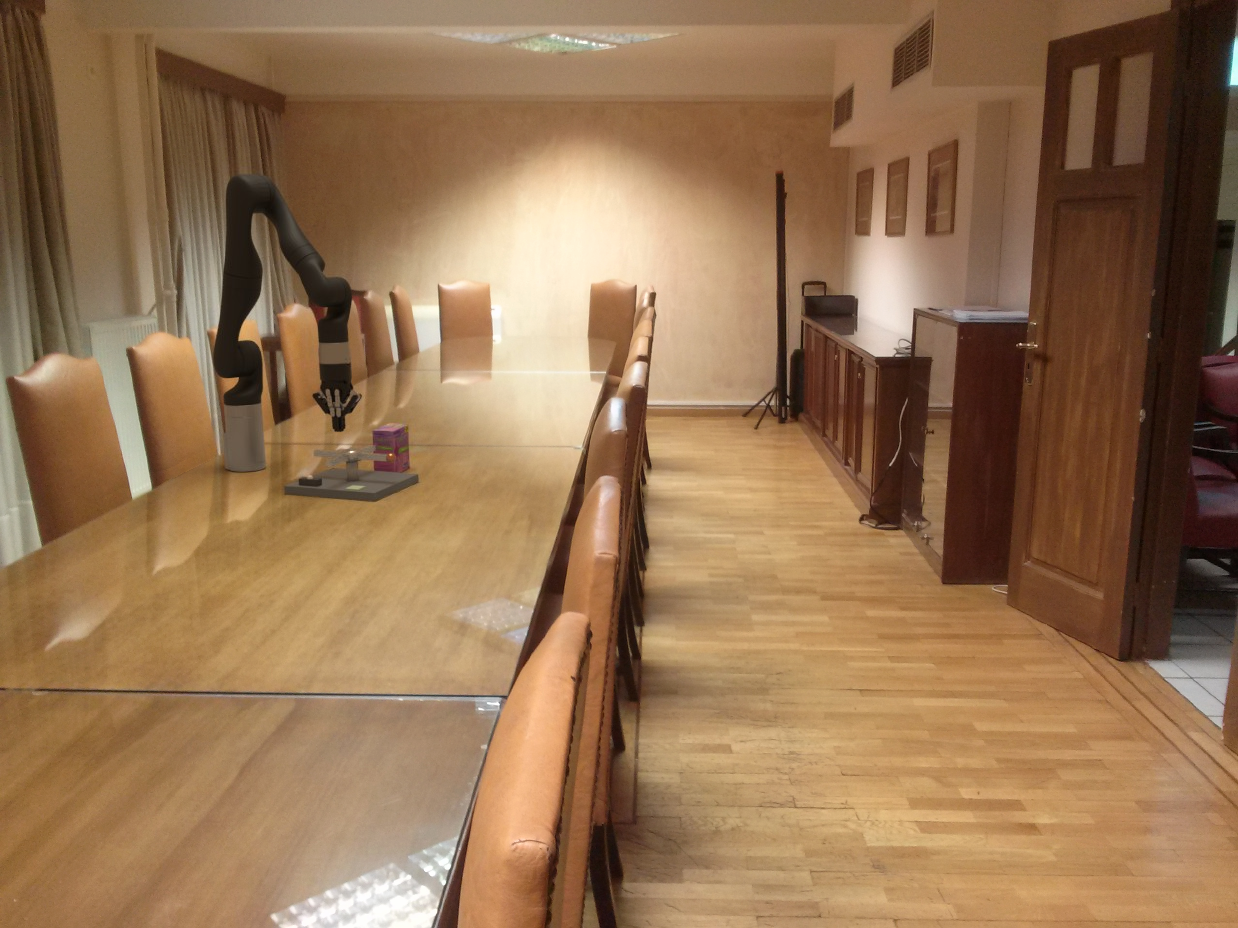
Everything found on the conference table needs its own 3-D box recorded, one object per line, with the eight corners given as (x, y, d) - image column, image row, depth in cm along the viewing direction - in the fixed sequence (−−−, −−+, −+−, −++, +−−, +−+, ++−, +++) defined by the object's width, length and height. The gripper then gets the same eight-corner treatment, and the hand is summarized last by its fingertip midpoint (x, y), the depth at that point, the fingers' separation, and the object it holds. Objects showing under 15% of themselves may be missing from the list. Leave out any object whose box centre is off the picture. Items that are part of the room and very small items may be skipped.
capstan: (291, 465, 253) (290, 455, 252) (338, 450, 271) (337, 440, 271) (374, 472, 246) (373, 461, 246) (415, 455, 265) (415, 445, 265)
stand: (284, 494, 254) (282, 467, 253) (333, 475, 274) (332, 450, 273) (375, 501, 247) (373, 473, 246) (418, 481, 267) (417, 456, 266)
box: (394, 476, 273) (392, 430, 270) (373, 475, 274) (371, 429, 271) (410, 468, 283) (408, 423, 280) (390, 467, 284) (388, 423, 281)
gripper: (302, 361, 260) (307, 432, 263) (350, 363, 256) (354, 435, 259) (319, 358, 267) (324, 427, 270) (367, 359, 263) (371, 430, 266)
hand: (339, 431), depth 265 cm, fingers closed
